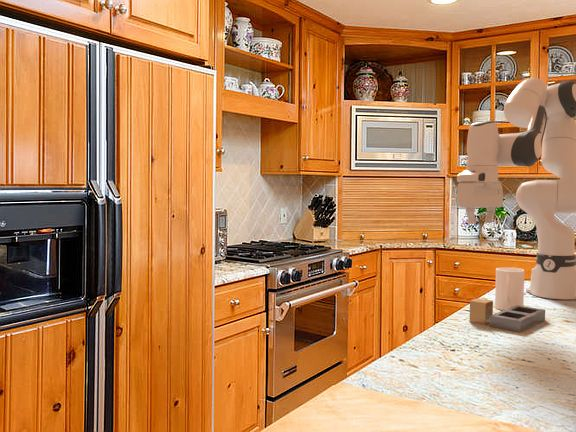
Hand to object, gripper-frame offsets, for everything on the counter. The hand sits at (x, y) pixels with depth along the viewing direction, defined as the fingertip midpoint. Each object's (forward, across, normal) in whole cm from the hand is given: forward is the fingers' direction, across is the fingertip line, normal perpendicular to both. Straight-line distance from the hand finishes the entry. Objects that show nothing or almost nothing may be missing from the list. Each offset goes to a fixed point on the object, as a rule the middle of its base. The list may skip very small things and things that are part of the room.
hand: (480, 223), depth 162 cm
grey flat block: (+27, +4, +14) cm, 30 cm away
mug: (+26, -10, +4) cm, 29 cm away
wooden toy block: (+27, +10, +6) cm, 29 cm away
